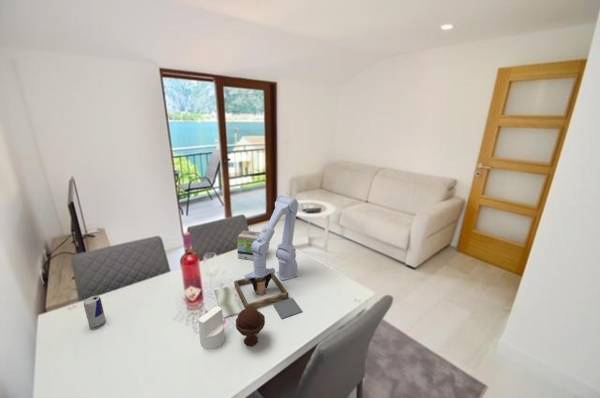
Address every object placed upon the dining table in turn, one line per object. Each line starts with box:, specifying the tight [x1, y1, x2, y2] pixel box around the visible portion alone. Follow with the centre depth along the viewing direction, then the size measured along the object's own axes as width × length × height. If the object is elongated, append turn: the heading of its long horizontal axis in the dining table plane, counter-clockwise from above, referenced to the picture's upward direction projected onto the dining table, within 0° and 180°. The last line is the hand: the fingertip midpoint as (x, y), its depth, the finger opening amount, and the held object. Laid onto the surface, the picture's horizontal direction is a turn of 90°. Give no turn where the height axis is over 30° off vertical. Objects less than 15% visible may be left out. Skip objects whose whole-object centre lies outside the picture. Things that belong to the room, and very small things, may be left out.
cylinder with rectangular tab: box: [197, 305, 226, 350], centre depth 99 cm, size 9×9×12 cm
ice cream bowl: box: [235, 308, 266, 348], centre depth 99 cm, size 11×11×15 cm
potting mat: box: [272, 297, 303, 320], centre depth 118 cm, size 10×10×1 cm
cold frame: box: [214, 273, 289, 320], centre depth 126 cm, size 30×20×3 cm
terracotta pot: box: [255, 277, 266, 296], centre depth 128 cm, size 5×5×7 cm
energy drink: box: [83, 295, 107, 330], centre depth 105 cm, size 5×5×12 cm
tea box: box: [236, 230, 261, 261], centre depth 159 cm, size 15×10×15 cm
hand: (260, 288), depth 128 cm, fingers closed on terracotta pot, 5 cm apart
